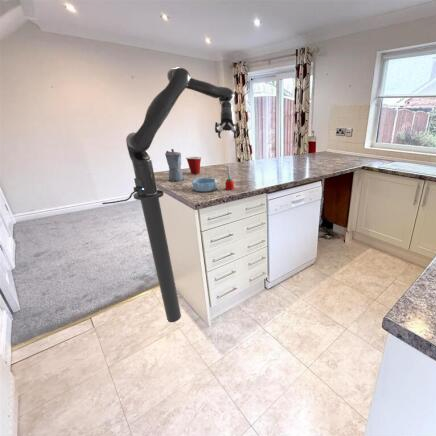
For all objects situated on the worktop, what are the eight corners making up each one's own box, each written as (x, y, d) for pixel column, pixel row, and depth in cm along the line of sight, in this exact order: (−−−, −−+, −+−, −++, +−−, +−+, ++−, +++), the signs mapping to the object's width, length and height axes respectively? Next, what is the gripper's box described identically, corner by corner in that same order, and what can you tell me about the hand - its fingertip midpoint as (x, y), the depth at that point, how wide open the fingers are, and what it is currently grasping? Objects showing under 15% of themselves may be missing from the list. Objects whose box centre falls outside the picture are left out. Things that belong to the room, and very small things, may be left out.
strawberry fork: (230, 190, 146) (228, 166, 140) (224, 189, 148) (222, 165, 142) (235, 188, 150) (234, 165, 144) (229, 187, 152) (227, 164, 146)
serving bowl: (205, 193, 139) (204, 185, 137) (188, 189, 144) (186, 181, 142) (221, 187, 150) (221, 179, 148) (205, 184, 155) (204, 176, 153)
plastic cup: (206, 172, 185) (204, 156, 180) (197, 175, 175) (195, 158, 170) (194, 171, 187) (192, 155, 183) (184, 174, 178) (182, 157, 173)
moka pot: (176, 183, 156) (171, 150, 148) (162, 179, 163) (156, 148, 155) (189, 180, 164) (185, 149, 156) (175, 176, 171) (170, 146, 163)
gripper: (214, 111, 148) (214, 133, 143) (238, 112, 151) (239, 133, 145) (215, 120, 155) (215, 141, 150) (238, 121, 158) (239, 141, 152)
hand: (227, 137), depth 148 cm, fingers open, 8 cm apart
